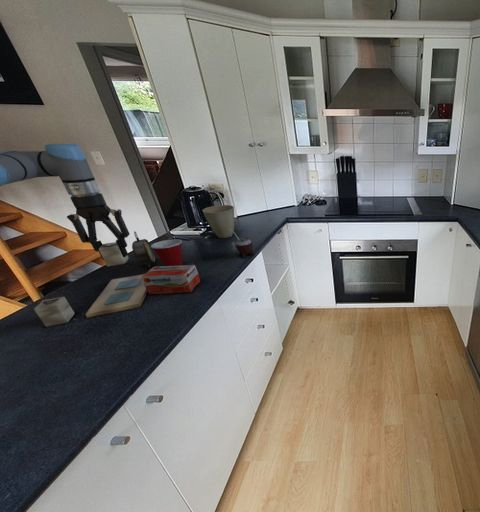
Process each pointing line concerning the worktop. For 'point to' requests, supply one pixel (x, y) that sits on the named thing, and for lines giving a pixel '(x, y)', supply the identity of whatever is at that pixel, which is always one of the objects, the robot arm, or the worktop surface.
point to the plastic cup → (169, 252)
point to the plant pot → (220, 219)
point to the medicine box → (171, 279)
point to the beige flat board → (119, 296)
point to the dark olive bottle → (143, 251)
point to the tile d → (54, 311)
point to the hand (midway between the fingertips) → (115, 256)
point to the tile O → (112, 254)
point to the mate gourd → (243, 246)
